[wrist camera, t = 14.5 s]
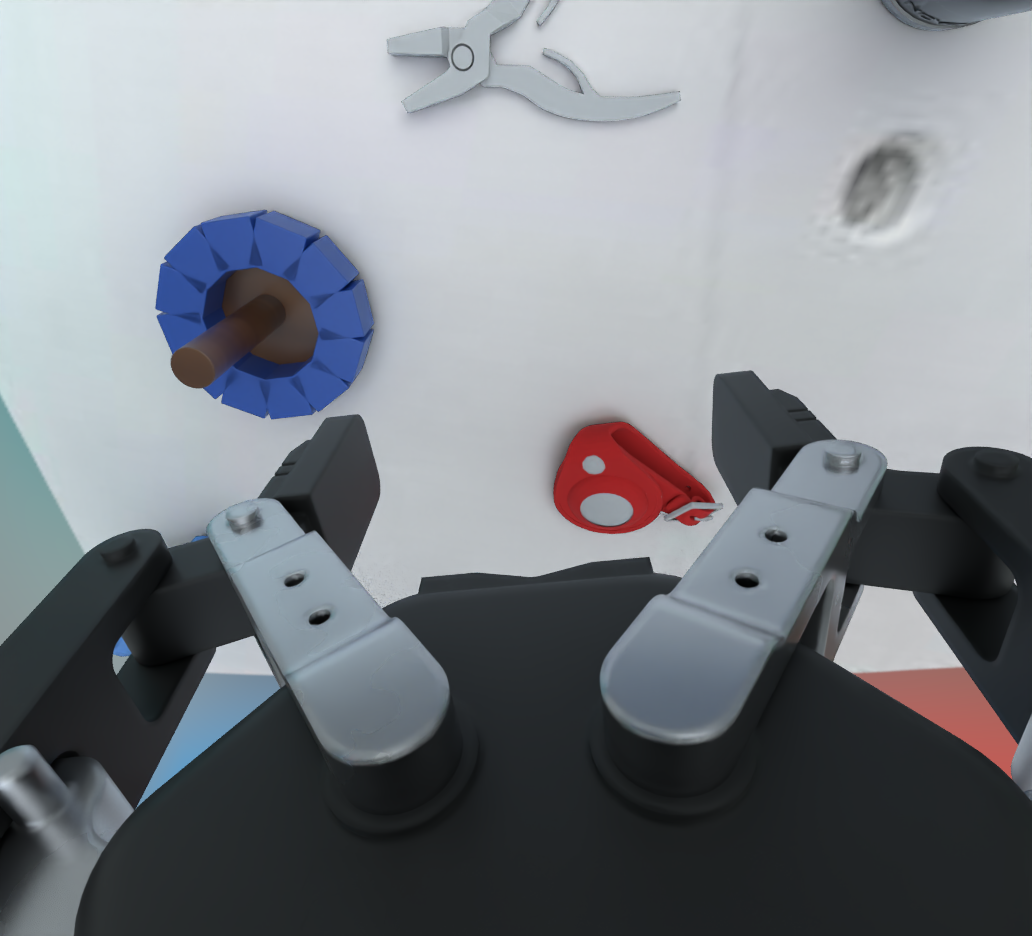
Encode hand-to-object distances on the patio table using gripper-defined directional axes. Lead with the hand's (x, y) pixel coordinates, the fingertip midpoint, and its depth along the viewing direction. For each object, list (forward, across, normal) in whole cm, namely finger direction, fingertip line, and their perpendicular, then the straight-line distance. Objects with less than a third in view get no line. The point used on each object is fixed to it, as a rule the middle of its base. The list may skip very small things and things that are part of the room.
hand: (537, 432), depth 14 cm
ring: (+27, +17, +3) cm, 32 cm away
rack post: (+28, +18, +3) cm, 33 cm away
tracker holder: (+28, -5, +19) cm, 35 cm away
